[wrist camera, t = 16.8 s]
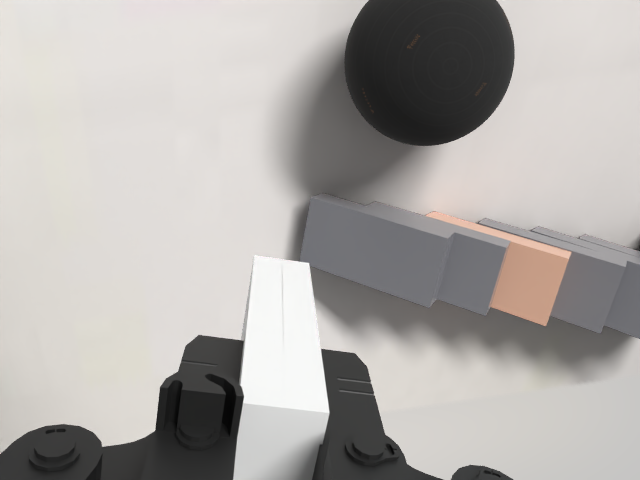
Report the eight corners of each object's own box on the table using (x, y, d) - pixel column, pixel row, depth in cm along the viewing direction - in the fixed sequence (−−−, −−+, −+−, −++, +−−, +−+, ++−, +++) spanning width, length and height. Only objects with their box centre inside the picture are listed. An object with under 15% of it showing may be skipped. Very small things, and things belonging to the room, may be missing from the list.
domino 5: (512, 291, 44) (654, 344, 39) (531, 230, 43) (682, 278, 38) (519, 284, 46) (657, 335, 41) (538, 226, 44) (683, 271, 39)
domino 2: (352, 269, 42) (485, 316, 39) (365, 205, 41) (506, 247, 37) (362, 263, 44) (490, 306, 41) (375, 201, 43) (510, 240, 39)
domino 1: (299, 262, 42) (429, 308, 38) (310, 197, 40) (447, 238, 37) (311, 255, 44) (436, 298, 40) (322, 192, 42) (454, 231, 38)
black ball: (508, 23, 39) (581, 19, 30) (435, 154, 42) (481, 189, 32) (379, -50, 37) (414, -79, 28) (312, 93, 40) (323, 112, 30)
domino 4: (461, 284, 44) (600, 333, 39) (478, 222, 42) (625, 266, 38) (468, 277, 45) (603, 324, 41) (485, 218, 44) (626, 260, 39)
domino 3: (409, 278, 43) (545, 326, 39) (425, 215, 41) (568, 258, 37) (418, 271, 45) (549, 317, 41) (433, 211, 43) (571, 251, 39)
